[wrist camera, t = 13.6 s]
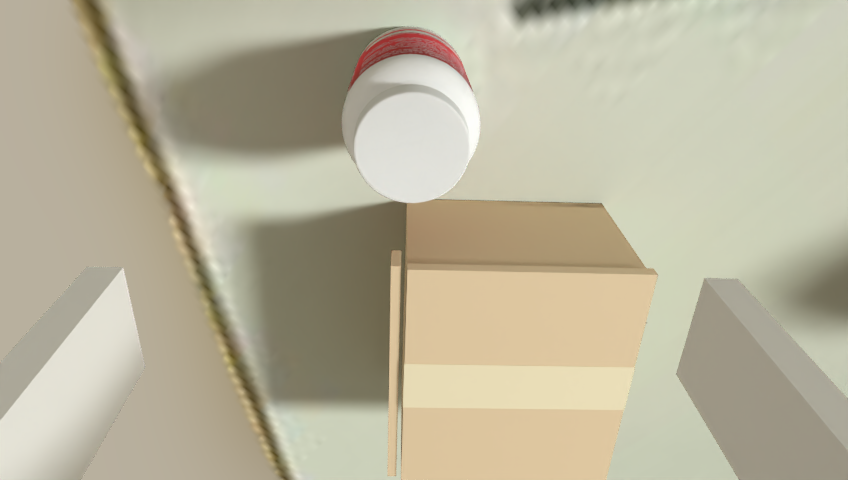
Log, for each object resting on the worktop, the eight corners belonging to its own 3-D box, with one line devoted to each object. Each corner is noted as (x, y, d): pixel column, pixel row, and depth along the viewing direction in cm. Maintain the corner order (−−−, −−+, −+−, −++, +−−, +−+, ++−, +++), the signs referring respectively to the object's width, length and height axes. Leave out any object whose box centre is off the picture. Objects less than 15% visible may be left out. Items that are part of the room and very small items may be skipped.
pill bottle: (336, 46, 33) (308, 101, 23) (445, 7, 32) (463, 47, 22) (377, 150, 36) (367, 239, 26) (478, 117, 35) (506, 195, 25)
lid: (391, 250, 31) (390, 269, 29) (644, 255, 31) (658, 275, 30) (388, 455, 38) (387, 480, 36) (597, 456, 38) (606, 482, 36)
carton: (406, 198, 37) (407, 265, 30) (601, 203, 38) (647, 270, 31) (401, 378, 44) (401, 467, 37) (567, 380, 44) (599, 468, 37)
